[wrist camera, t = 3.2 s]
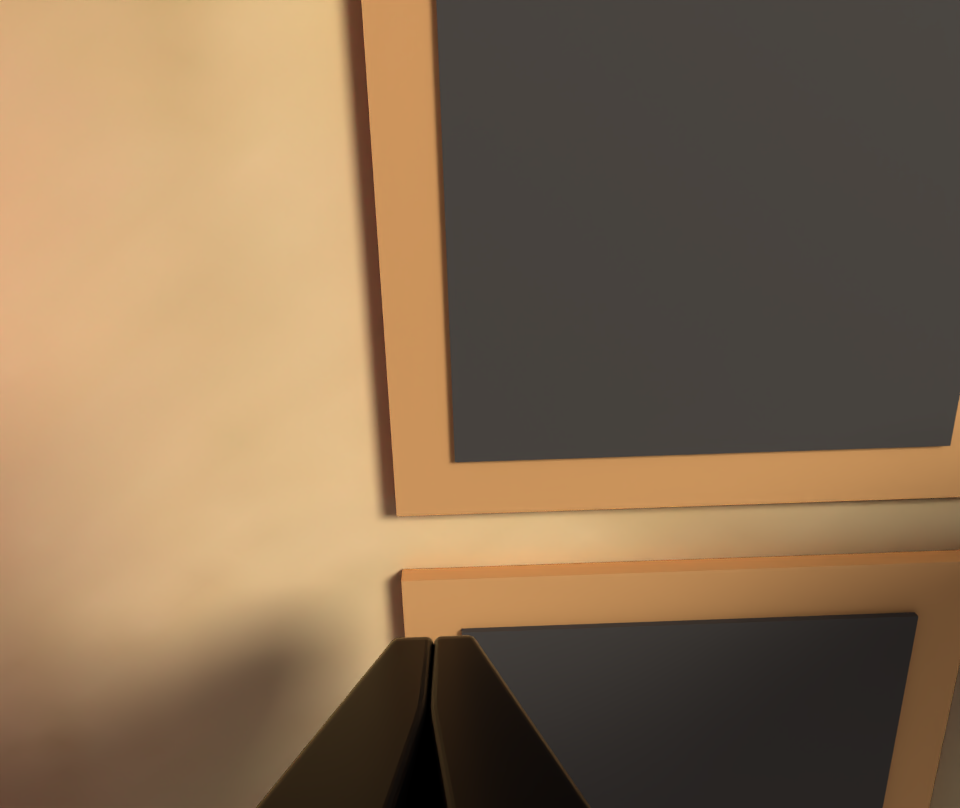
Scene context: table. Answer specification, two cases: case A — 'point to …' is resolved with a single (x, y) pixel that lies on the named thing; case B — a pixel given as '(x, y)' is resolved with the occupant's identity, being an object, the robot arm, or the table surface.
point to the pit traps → (682, 368)
